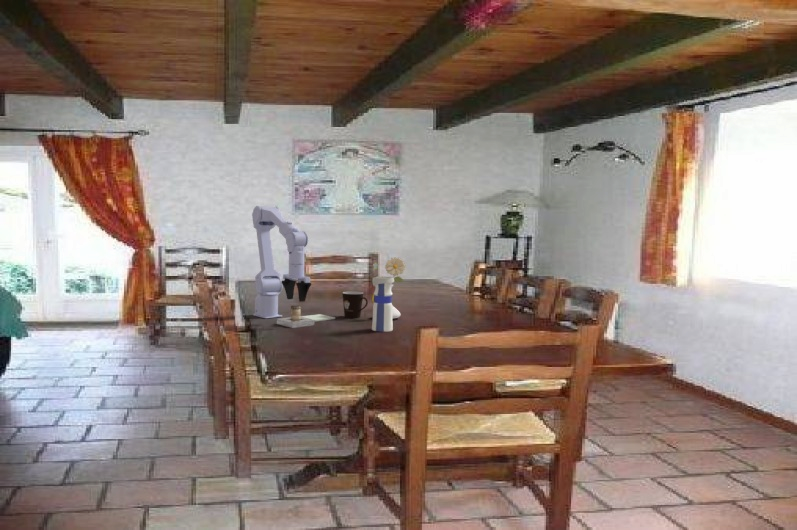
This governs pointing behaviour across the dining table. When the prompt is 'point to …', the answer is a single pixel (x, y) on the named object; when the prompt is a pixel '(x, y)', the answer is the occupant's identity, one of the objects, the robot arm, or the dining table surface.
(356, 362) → the dining table surface
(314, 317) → the mat
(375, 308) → the water bottle
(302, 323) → the square metal frame
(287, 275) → the robot arm
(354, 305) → the coffee mug
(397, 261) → the flower in vase
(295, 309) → the tan two-tone cylinder
